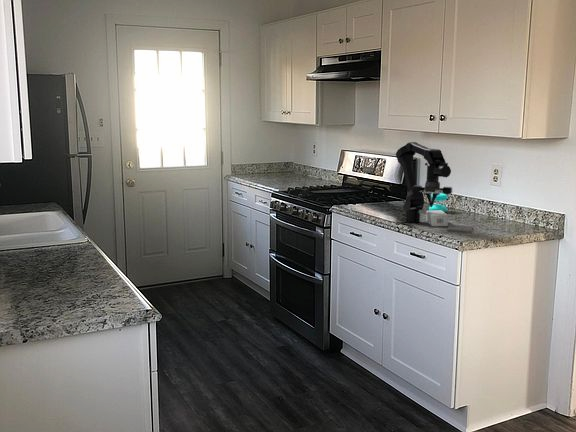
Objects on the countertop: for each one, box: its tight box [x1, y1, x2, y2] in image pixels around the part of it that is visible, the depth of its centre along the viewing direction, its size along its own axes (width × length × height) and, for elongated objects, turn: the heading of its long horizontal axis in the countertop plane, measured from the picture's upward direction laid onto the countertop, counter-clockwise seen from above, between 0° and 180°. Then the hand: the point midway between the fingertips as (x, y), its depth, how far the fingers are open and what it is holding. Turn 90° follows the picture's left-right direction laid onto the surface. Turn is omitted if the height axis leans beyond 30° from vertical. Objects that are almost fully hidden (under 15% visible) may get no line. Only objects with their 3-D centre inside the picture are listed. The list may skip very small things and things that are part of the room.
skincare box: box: [425, 209, 449, 227], centre depth 305 cm, size 8×6×15 cm
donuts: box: [428, 192, 449, 213], centre depth 343 cm, size 10×10×10 cm
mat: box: [446, 224, 474, 234], centre depth 293 cm, size 11×14×1 cm
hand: (431, 206), depth 296 cm, fingers closed
